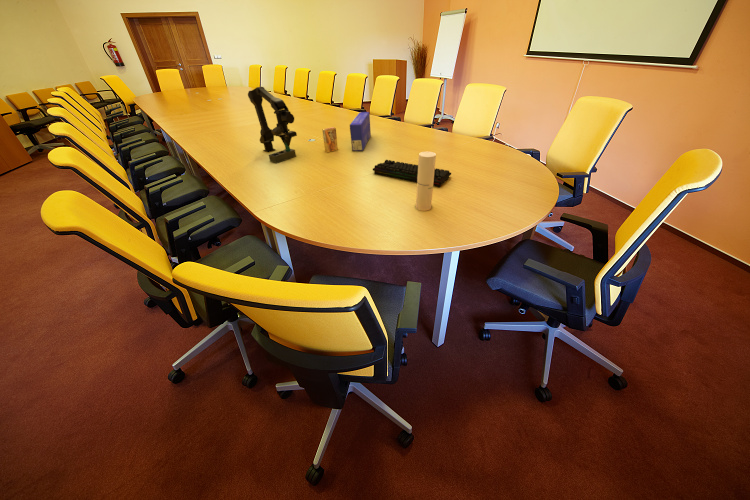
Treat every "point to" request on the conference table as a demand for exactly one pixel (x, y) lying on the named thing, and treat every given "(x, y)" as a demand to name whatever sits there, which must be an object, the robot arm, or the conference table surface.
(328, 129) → the candy box
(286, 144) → the capped tube
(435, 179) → the keyboard
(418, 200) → the cylindrical container
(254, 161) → the conference table surface
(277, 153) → the organiser
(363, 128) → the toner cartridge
